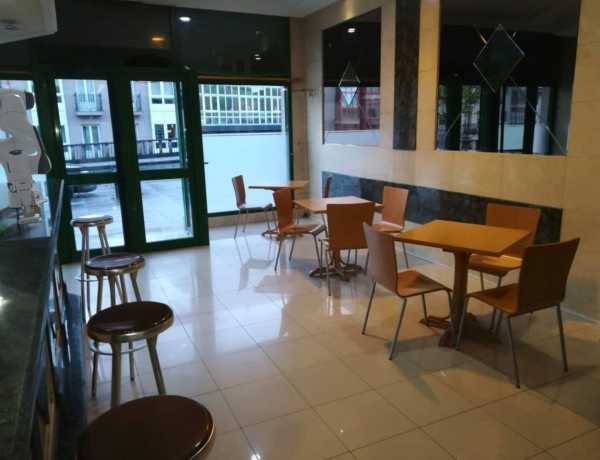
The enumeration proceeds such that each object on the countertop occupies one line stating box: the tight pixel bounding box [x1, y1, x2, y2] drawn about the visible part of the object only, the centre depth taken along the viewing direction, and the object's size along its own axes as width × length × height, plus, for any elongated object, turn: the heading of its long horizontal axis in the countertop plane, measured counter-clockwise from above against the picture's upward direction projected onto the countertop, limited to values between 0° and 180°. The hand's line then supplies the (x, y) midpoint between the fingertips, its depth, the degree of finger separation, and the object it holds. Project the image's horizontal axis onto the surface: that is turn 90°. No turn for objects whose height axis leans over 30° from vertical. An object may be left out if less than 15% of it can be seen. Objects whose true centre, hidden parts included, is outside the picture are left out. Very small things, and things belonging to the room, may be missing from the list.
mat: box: [17, 216, 43, 225], centre depth 234 cm, size 10×10×1 cm
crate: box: [21, 204, 43, 218], centre depth 244 cm, size 8×8×5 cm
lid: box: [19, 209, 40, 222], centre depth 233 cm, size 8×8×5 cm
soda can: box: [19, 190, 36, 208], centre depth 256 cm, size 7×7×12 cm
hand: (28, 211), depth 233 cm, fingers open, 5 cm apart
